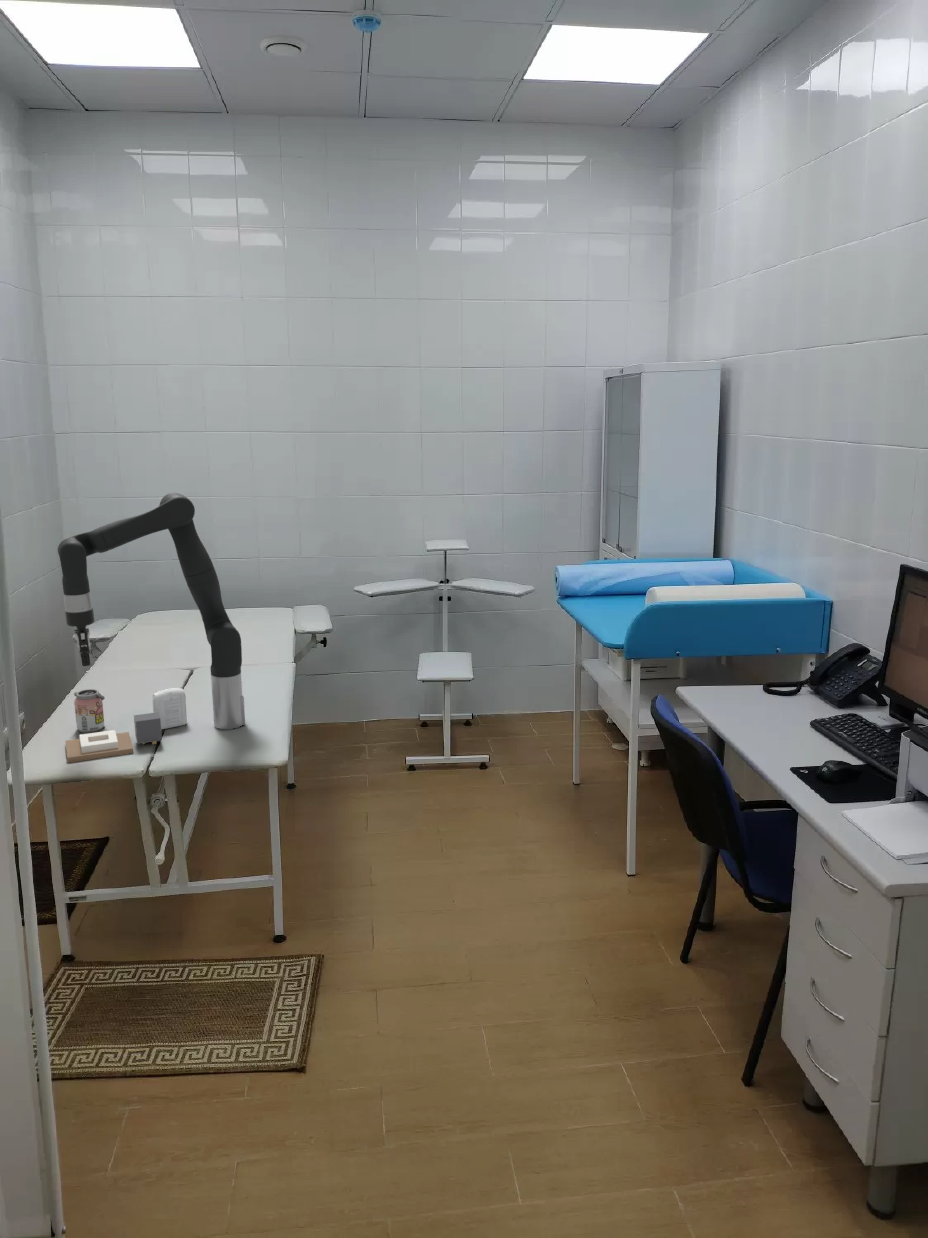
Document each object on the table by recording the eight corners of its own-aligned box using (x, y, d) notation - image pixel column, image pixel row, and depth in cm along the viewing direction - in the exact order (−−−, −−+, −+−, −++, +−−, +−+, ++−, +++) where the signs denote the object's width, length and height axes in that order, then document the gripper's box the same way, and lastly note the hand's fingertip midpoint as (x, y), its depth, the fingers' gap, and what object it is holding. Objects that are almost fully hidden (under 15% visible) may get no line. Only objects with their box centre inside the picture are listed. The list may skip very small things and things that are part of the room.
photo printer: (184, 720, 304) (182, 684, 300) (189, 724, 300) (186, 688, 297) (152, 727, 298) (149, 690, 295) (157, 731, 294) (153, 694, 291)
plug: (160, 738, 289) (157, 712, 287) (162, 744, 284) (160, 718, 282) (136, 741, 286) (133, 715, 284) (137, 748, 281) (135, 721, 279)
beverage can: (86, 722, 302) (82, 686, 299) (111, 723, 301) (108, 687, 298) (71, 732, 293) (67, 696, 290) (97, 734, 292) (93, 697, 289)
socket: (129, 736, 290) (128, 725, 289) (133, 753, 278) (132, 742, 277) (65, 745, 283) (64, 734, 282) (67, 762, 271) (66, 751, 270)
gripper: (94, 612, 267) (100, 666, 272) (91, 600, 280) (97, 653, 284) (65, 615, 265) (72, 670, 269) (64, 603, 277) (71, 656, 281)
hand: (85, 661), depth 277 cm, fingers open, 8 cm apart
